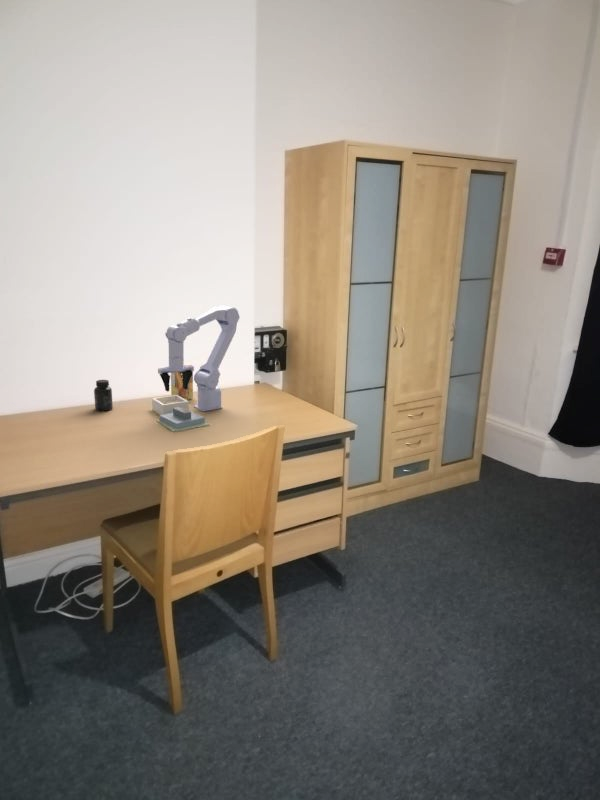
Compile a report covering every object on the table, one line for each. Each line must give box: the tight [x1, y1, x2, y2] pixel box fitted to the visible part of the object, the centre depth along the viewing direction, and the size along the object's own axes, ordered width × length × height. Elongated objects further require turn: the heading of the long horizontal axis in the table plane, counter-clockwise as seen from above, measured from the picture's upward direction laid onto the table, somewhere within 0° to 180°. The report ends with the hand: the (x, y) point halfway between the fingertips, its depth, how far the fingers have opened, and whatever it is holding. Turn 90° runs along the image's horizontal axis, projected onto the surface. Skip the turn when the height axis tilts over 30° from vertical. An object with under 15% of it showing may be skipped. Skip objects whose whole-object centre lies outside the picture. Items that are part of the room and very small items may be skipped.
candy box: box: [170, 363, 194, 400], centre depth 250 cm, size 9×4×15 cm, turn 129°
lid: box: [158, 407, 206, 429], centre depth 220 cm, size 12×12×5 cm
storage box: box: [151, 395, 190, 415], centre depth 233 cm, size 11×11×5 cm
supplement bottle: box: [93, 379, 114, 412], centre depth 232 cm, size 7×7×12 cm
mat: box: [156, 418, 210, 433], centre depth 221 cm, size 15×15×1 cm
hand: (176, 389), depth 228 cm, fingers open, 7 cm apart
